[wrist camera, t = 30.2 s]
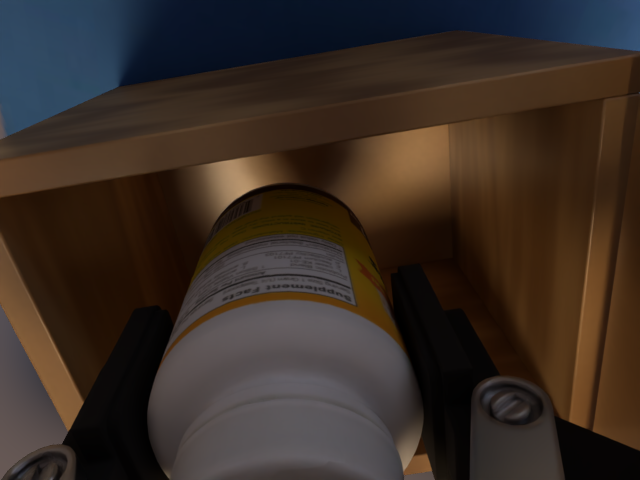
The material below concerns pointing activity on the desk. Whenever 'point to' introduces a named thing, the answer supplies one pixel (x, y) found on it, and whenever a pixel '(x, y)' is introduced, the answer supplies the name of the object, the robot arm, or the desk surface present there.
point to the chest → (339, 194)
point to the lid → (624, 325)
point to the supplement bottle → (286, 352)
